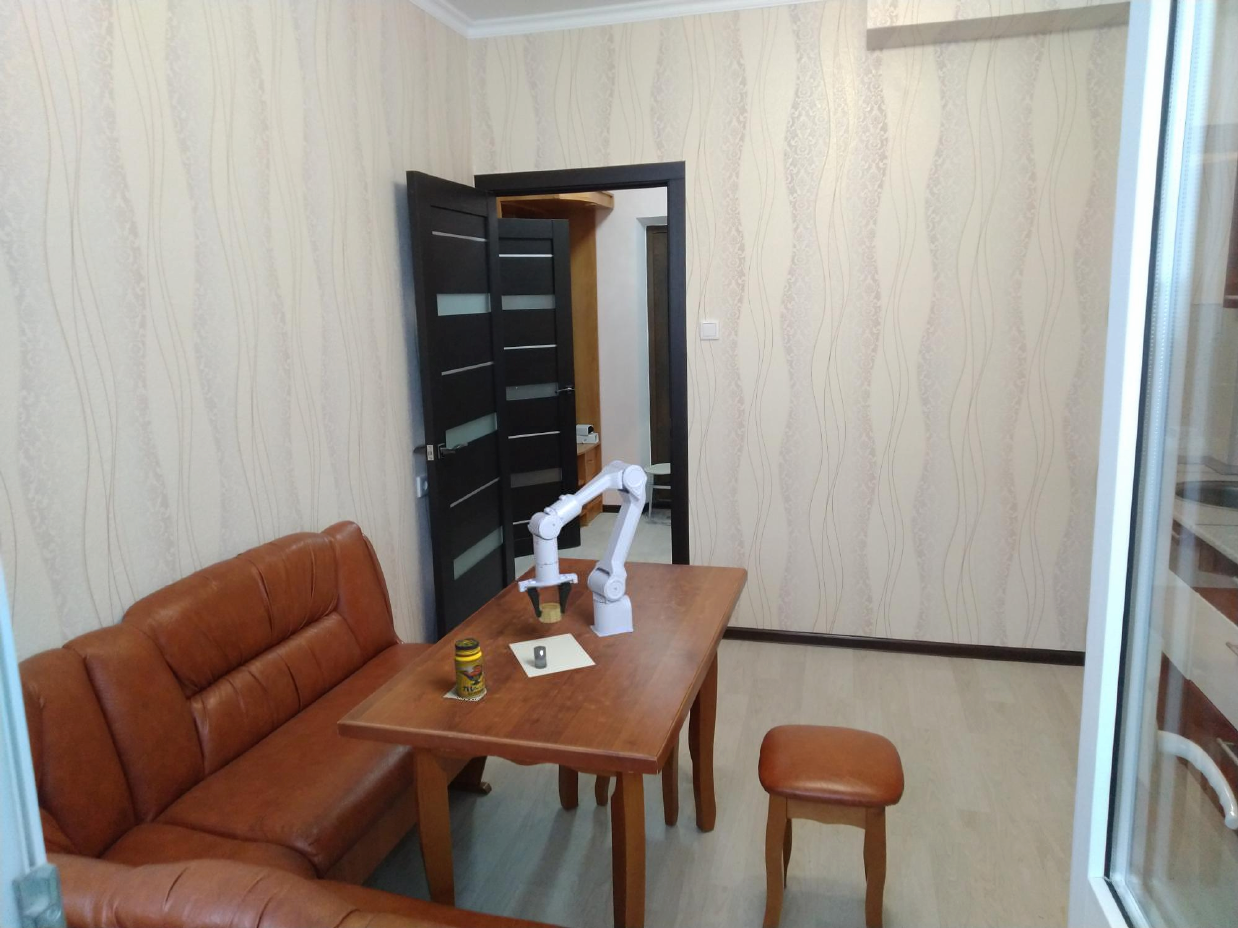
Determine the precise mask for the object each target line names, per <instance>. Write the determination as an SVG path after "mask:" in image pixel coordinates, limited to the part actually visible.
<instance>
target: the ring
mask: <svg viewBox="0 0 1238 928" xmlns="http://www.w3.org/2000/svg"><path fill="white" fill-rule="evenodd" d="M539 607H540V618H538V620H539V622H540V623H545V624H547V623H549V624H552V623H557V622H559V621H561V620H562V619H563V614H562V608H561V605H560V604H559V603H557V602H556V603H555V602H549V603H548V602H547V603H543V604H539Z"/></svg>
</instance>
